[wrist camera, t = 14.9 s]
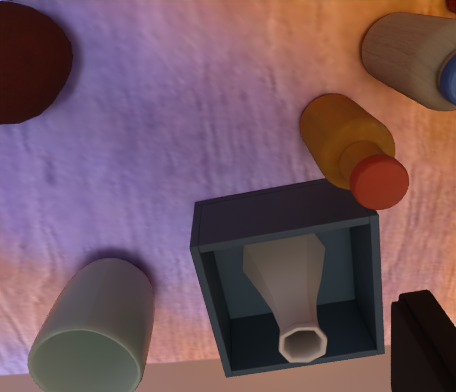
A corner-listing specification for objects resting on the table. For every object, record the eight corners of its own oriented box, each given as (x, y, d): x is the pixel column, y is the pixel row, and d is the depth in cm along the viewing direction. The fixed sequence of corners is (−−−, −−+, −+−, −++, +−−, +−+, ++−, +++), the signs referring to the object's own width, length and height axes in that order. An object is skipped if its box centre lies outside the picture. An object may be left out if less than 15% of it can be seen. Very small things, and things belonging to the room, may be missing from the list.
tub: (225, 318, 40) (225, 378, 34) (194, 201, 35) (189, 247, 29) (359, 297, 39) (385, 354, 33) (350, 173, 34) (378, 214, 28)
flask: (314, 209, 34) (347, 288, 25) (333, 278, 37) (368, 370, 28) (229, 234, 35) (232, 318, 26) (254, 299, 38) (264, 395, 29)
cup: (118, 228, 36) (83, 309, 27) (178, 286, 39) (165, 377, 30) (54, 274, 38) (2, 364, 29) (115, 327, 41) (85, 423, 32)
